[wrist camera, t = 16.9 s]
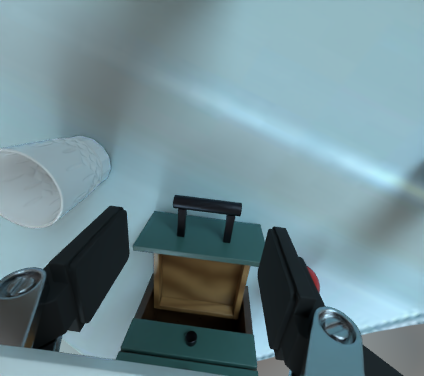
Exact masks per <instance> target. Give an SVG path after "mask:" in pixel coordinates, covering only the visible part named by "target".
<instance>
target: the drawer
mask: <svg viewBox="0 0 424 376" xmlns="http://www.w3.org/2000/svg"><path fill="white" fill-rule="evenodd" d="M173 208H179V209H178V214H173V213H165V212H158V211H154V213H153V215H152V216H151V218H150V219H149V221H148V222H147V224H146V226H145V227H144V229H143V230H142V232H141V233H140V235H139V237H138V238H137V240H136V241H135V243H134V245H133V250H134V251H142V252H149V253H154V308H156V309H164V310H172V311H179V312H186V313H194V314H201V315H208V316H215V317H223V318H230V319H232V318H233V319H238V316H239V312H240V307H241V303H242V299H243V294H244V290H245V286H246V282H247V277H248V273H249V269H250V266H255V267H259V264H260V260H261V256H262V253H263V249H264V245H265V241H264V237H263V233H262V229H261V225H259V224H251V223H243V222H236V221H234V220H235V216H240V215H241V210H242V203H236V202H229V201H221V200H213V199H205V198H197V197H189V196H181V195H175V196H174V200H173ZM187 210H194V211H202V212H210V213H218V214H226V215H227V216H226V220H220V219H212V218H204V217H197V216H189V215H187Z"/></svg>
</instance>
